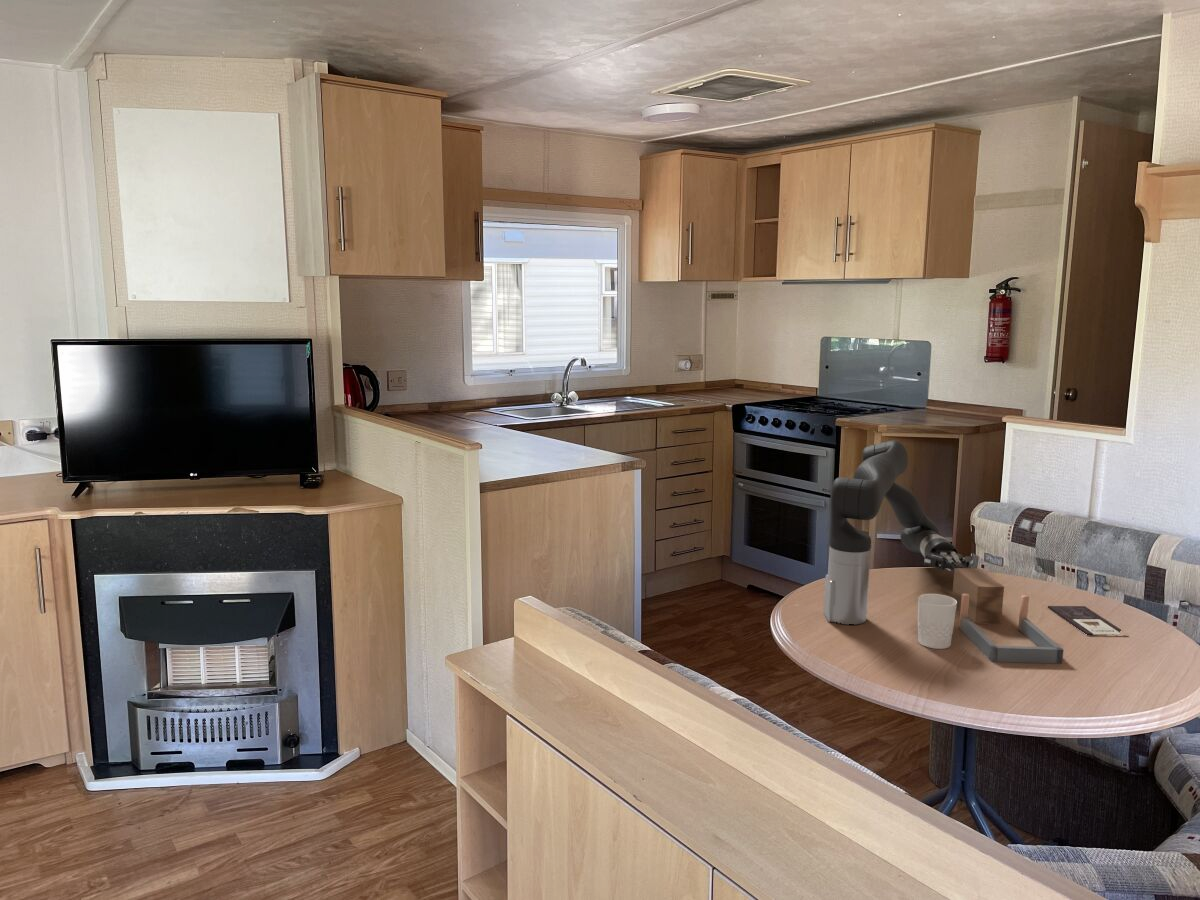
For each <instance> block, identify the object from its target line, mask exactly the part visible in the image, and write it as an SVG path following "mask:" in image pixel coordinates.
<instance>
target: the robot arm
mask: <svg viewBox="0 0 1200 900" xmlns="http://www.w3.org/2000/svg"><path fill="white" fill-rule="evenodd" d="M861 455H862V457H861V459H862V462H861V463H860V464H859V465H858V467H857V468H856V469H855V471H854V472H853V473H854V474H853V478H851V477H841V476H840V477H837V478H835V479H834V481H833V483H832V485H831V489H830V503H829V504H830V509H829V510H830V517H829V518H830V522H829V523H830V524H829V527H830V528H829V544H828V545H829V548H828V549H829V550H828V567H827V574H825V581H824V594H823V595H824V596H823V597H824V598H823V599H824V600H823V612H822V613H823V615H824V616H825V618H826V620H827V622H831V623H836V622H837V624H840V623H841V624H842V625H849V624H854V625H861V624H863V623H865V622H866V621H867V615H868V597H869V596H868V595H869V581H870V580H869V579H870V565H871V549H872V538H871V536H870V535H869V534H868V533H866V532H864V531H862V530H860V529H859V528H856V527H855V526H853V524H851V523H850V521H848V519H851V520H861V521H871V520H873V519H875V518H876V517H877V515H878V514H879V512H880V508H881V506H882V504H883V500H884V499H886V501H887V502H888V504H889V505H890V506H891V508H892V510H893V512H894V514H895V516H896V519H897V520H898V522H899V524H900V525H901V526H903V528H904V529H903V530H902V531H901V533H900V541H901V543H902V545H903V546H904V547H905V548H906V549H907V550H909V551H910V552H912V553H916V554H921V555H922V556H923V558H924V563H923V564H924V566H929V567H931V568H935V569H938V570H942V571H945V570H948V571H949V572H952V573H954V570H955V568H973V563H974V556H972V555H968V556H965V557H964V556H963V554H960V553H959V552H958V550H957V548H956V547H955V546H954V545H953V544H952V543H951V542H950V541H949V540H948V539H947V538H945V537H943V536H941V535H940V529H939V527H938V526H937V524H936V523H935V522H934V521H933V520H932V519H930V518H929V517H928V516H927V515H926V514H925V512H924V511H923V508H922V506H921V505H920V503H919V500H918V499H917V497H916V496H915V494H914V493H913V492H912V491H910V490H909V489H907V488H906V487H904V486H902V485H900V484H899V483H897V482H895V481H897V479H898V477H900V476H901V475H902V474H904V473H905V472H906V470H907V469H908V465H909V454H908V450H907V449H906V447H905V445H904V444H903V443H902V442H900V441H898V440H894V439H892V440H887V441H883V442H879V443H875V444H871V445H868V446H866V447H864V448H863V450H862V454H861ZM841 624H840V625H841Z"/></svg>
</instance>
